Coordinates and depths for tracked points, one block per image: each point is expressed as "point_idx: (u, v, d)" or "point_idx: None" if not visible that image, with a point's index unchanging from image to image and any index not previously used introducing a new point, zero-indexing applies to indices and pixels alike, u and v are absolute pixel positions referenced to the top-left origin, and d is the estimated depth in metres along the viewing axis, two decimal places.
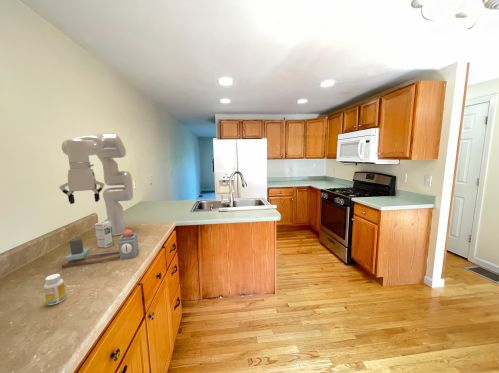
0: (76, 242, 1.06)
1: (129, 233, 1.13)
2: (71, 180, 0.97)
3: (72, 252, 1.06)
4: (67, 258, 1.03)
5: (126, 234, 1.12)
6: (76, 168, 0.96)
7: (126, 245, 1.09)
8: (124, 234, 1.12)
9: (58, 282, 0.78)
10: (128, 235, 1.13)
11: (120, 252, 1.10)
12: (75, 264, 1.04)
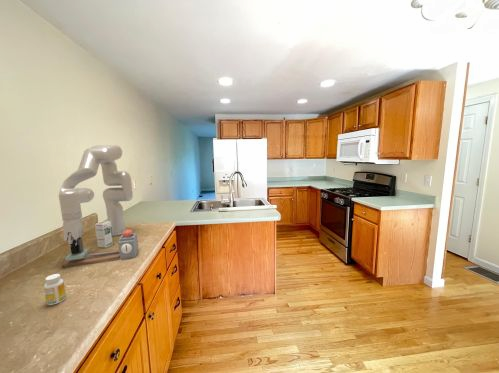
0: None
1: (129, 233, 1.13)
2: (76, 229, 1.04)
3: None
4: (67, 258, 1.03)
5: (126, 234, 1.12)
6: (81, 216, 1.06)
7: (126, 245, 1.09)
8: (124, 234, 1.12)
9: (58, 282, 0.78)
10: (128, 235, 1.13)
11: (120, 252, 1.10)
12: (75, 264, 1.04)
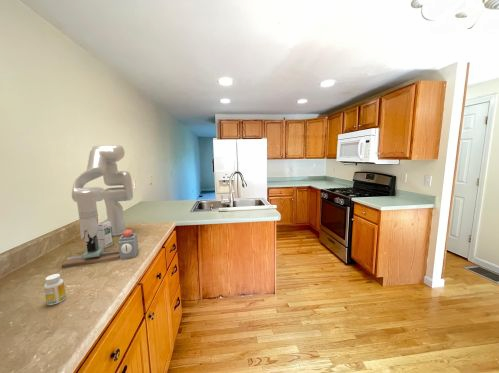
0: None
1: (129, 233, 1.13)
2: (92, 228, 1.06)
3: None
4: (84, 256, 1.06)
5: (126, 234, 1.12)
6: (97, 215, 1.08)
7: (126, 245, 1.09)
8: (124, 234, 1.12)
9: (58, 282, 0.78)
10: (128, 235, 1.13)
11: (120, 252, 1.10)
12: (75, 264, 1.04)
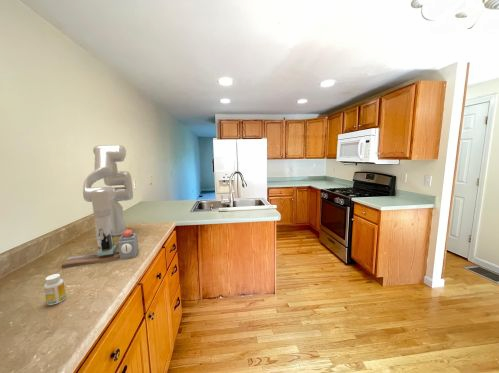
0: None
1: (129, 233, 1.13)
2: (106, 226, 1.08)
3: None
4: (98, 254, 1.08)
5: (126, 234, 1.12)
6: (111, 214, 1.10)
7: (126, 245, 1.09)
8: (124, 234, 1.12)
9: (58, 282, 0.78)
10: (128, 235, 1.13)
11: (120, 252, 1.10)
12: (75, 264, 1.04)
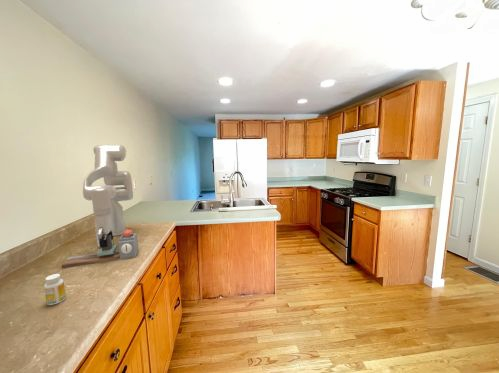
0: (106, 238, 1.10)
1: (129, 233, 1.13)
2: (107, 225, 1.08)
3: (102, 248, 1.10)
4: (98, 254, 1.08)
5: (126, 234, 1.12)
6: (111, 212, 1.10)
7: (126, 245, 1.09)
8: (124, 234, 1.12)
9: (58, 282, 0.78)
10: (128, 235, 1.13)
11: (120, 252, 1.10)
12: (75, 264, 1.04)
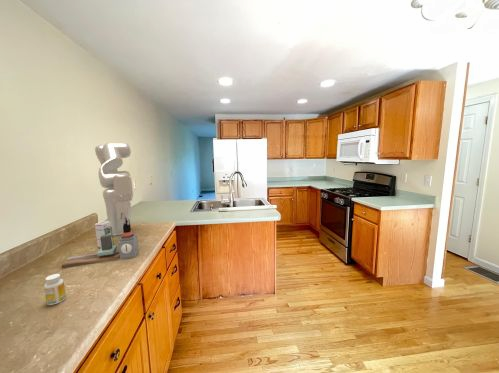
0: (106, 238, 1.10)
1: (129, 234, 1.13)
2: (128, 211, 1.10)
3: (102, 248, 1.10)
4: (98, 254, 1.08)
5: (126, 235, 1.12)
6: (131, 199, 1.12)
7: (126, 245, 1.09)
8: (124, 235, 1.12)
9: (58, 282, 0.78)
10: (128, 236, 1.13)
11: (120, 252, 1.10)
12: (75, 264, 1.04)
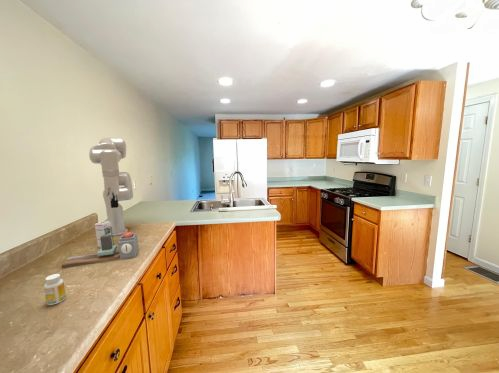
0: (106, 238, 1.10)
1: (129, 235, 1.13)
2: (115, 186, 1.12)
3: (102, 248, 1.10)
4: (98, 254, 1.08)
5: (126, 236, 1.12)
6: (119, 175, 1.14)
7: (126, 245, 1.09)
8: (124, 236, 1.12)
9: (58, 282, 0.78)
10: (128, 237, 1.13)
11: (120, 252, 1.10)
12: (75, 264, 1.04)
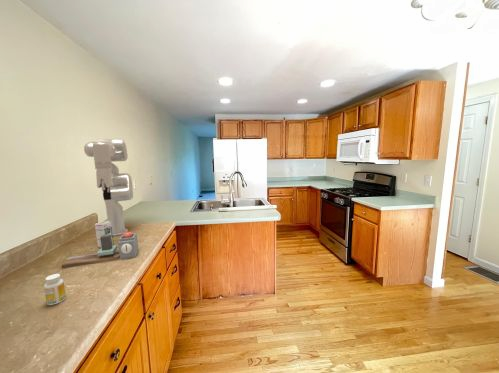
0: (106, 238, 1.10)
1: (129, 235, 1.13)
2: (107, 178, 1.14)
3: (102, 248, 1.10)
4: (98, 254, 1.08)
5: (126, 236, 1.12)
6: (111, 167, 1.16)
7: (126, 245, 1.09)
8: (124, 236, 1.12)
9: (58, 282, 0.78)
10: (128, 237, 1.13)
11: (120, 252, 1.10)
12: (75, 264, 1.04)
